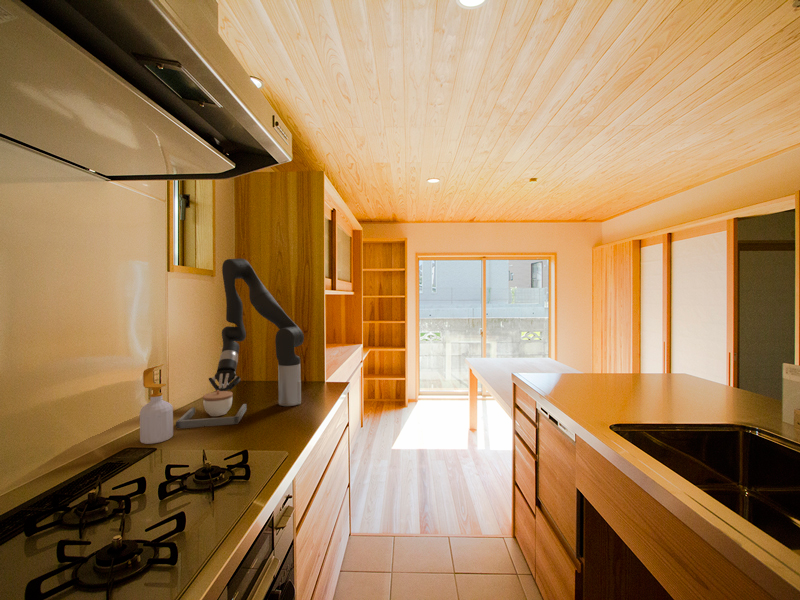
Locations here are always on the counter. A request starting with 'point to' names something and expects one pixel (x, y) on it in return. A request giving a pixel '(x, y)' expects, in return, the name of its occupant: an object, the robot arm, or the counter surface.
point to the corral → (208, 419)
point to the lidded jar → (217, 402)
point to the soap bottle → (155, 413)
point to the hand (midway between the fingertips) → (221, 397)
